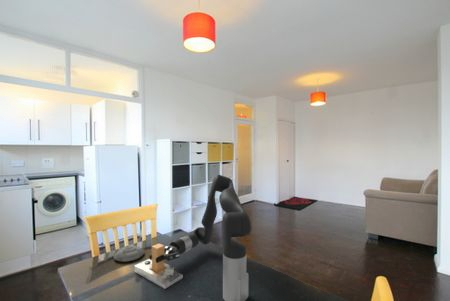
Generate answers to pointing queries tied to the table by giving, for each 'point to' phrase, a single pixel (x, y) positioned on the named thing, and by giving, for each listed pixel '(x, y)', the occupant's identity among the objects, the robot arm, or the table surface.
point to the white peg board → (158, 274)
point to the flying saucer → (129, 253)
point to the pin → (156, 252)
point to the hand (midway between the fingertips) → (153, 259)
